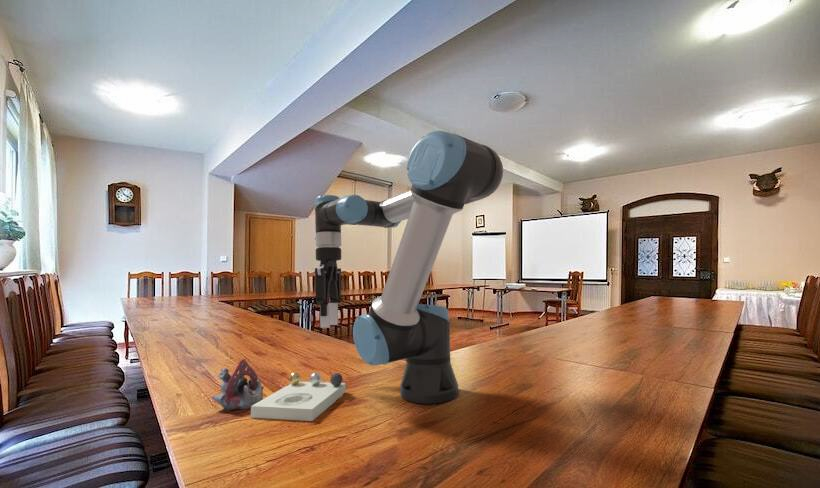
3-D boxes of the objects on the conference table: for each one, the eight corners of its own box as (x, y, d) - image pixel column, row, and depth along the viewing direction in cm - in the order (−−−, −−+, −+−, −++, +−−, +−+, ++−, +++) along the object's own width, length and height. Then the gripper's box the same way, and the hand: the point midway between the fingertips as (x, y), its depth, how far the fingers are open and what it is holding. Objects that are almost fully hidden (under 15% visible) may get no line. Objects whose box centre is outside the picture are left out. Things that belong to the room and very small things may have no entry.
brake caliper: (250, 403, 83) (224, 360, 85) (217, 431, 84) (193, 388, 87) (279, 388, 94) (255, 350, 96) (250, 413, 95) (227, 375, 98)
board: (294, 390, 99) (294, 381, 99) (345, 392, 96) (345, 383, 96) (250, 417, 81) (250, 406, 81) (312, 421, 78) (312, 409, 78)
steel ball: (323, 383, 97) (323, 371, 97) (318, 387, 94) (318, 374, 94) (312, 383, 97) (312, 370, 98) (307, 386, 94) (306, 374, 94)
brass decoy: (303, 382, 98) (303, 370, 98) (297, 386, 95) (297, 373, 95) (292, 382, 99) (292, 370, 99) (286, 385, 95) (286, 373, 96)
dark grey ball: (344, 384, 95) (344, 371, 96) (339, 387, 92) (339, 375, 93) (333, 383, 96) (333, 371, 96) (328, 387, 93) (328, 374, 93)
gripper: (329, 249, 117) (330, 322, 115) (302, 245, 99) (302, 330, 97) (351, 248, 115) (352, 322, 113) (327, 244, 98) (328, 330, 96)
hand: (329, 325), depth 105 cm, fingers open, 5 cm apart
